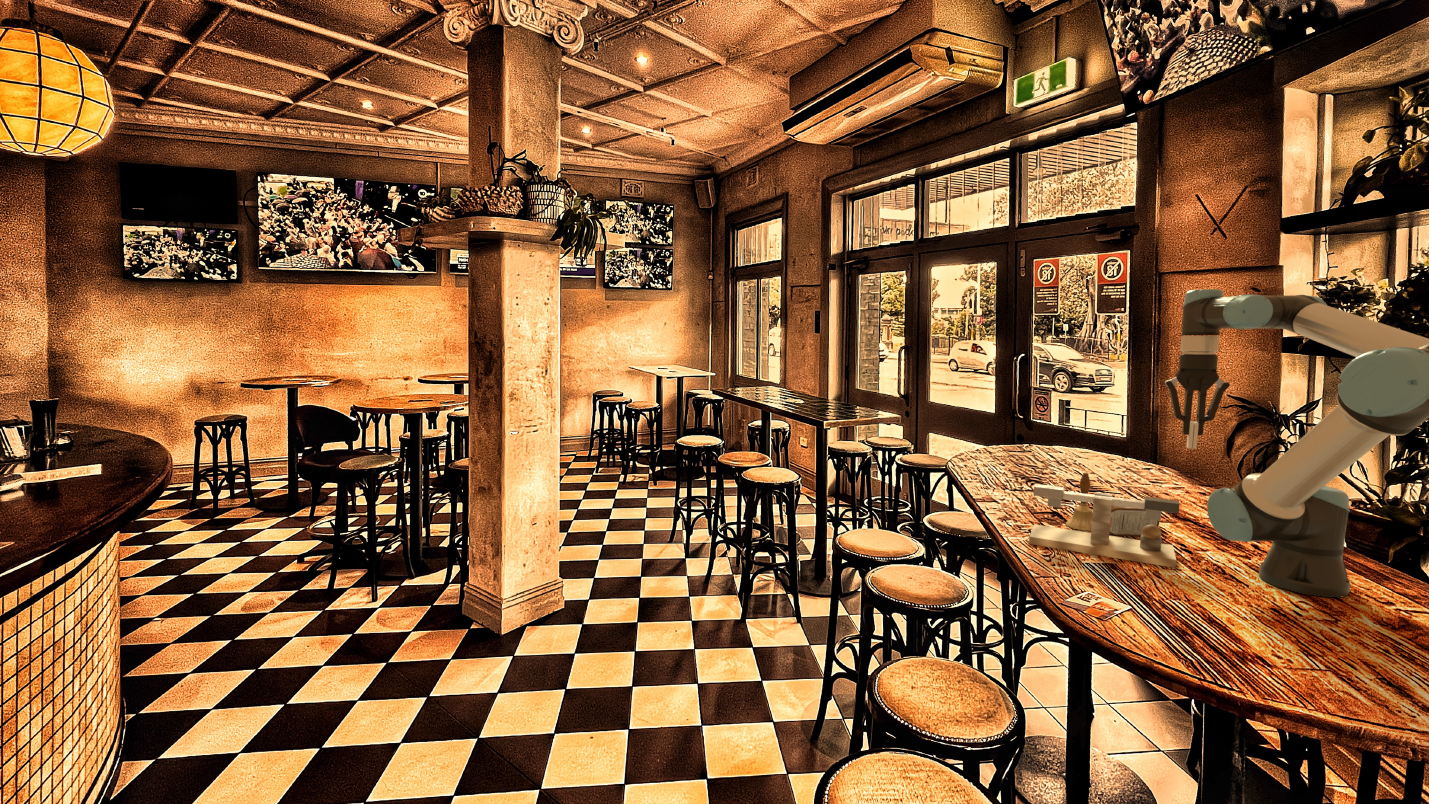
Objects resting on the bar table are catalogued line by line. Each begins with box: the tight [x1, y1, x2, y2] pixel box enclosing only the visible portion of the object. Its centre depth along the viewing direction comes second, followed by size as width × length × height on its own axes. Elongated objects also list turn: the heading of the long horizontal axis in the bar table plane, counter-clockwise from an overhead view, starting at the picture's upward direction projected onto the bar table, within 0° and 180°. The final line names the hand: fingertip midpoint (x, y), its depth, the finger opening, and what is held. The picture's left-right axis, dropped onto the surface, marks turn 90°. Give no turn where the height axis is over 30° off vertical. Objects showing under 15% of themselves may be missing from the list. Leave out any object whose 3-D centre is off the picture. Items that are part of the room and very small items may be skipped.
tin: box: [1109, 505, 1161, 537], centre depth 177 cm, size 15×3×8 cm, turn 84°
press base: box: [1028, 492, 1177, 569], centre depth 166 cm, size 32×12×14 cm, turn 58°
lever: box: [1033, 483, 1180, 522], centre depth 166 cm, size 32×4×5 cm, turn 58°
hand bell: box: [1065, 472, 1093, 532], centre depth 184 cm, size 8×8×16 cm
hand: (1191, 447), depth 159 cm, fingers closed
